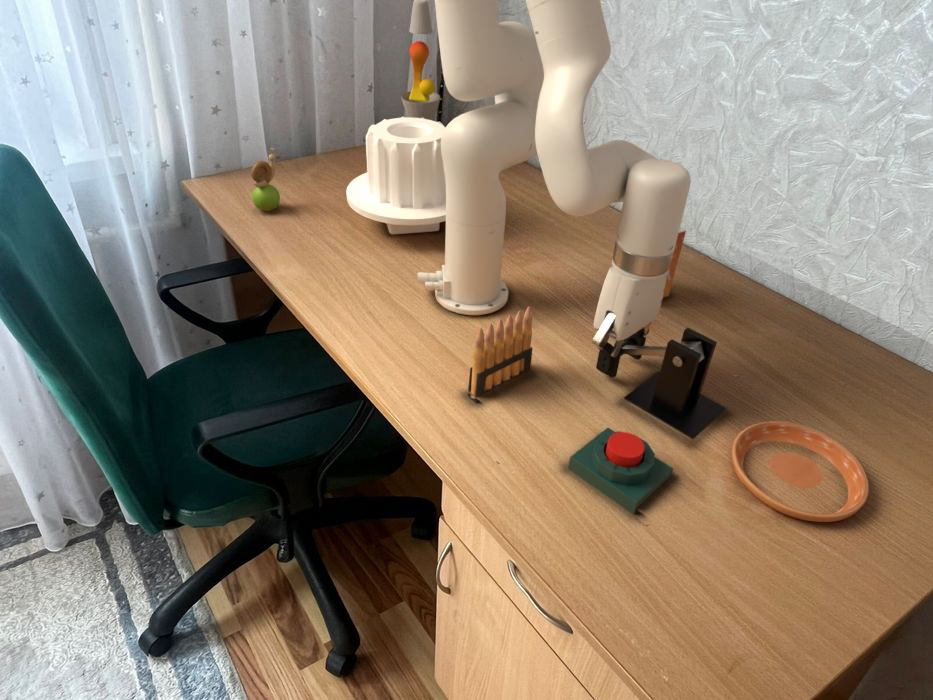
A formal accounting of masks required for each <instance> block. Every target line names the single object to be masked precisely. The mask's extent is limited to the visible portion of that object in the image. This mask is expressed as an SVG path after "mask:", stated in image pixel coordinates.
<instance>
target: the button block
mask: <svg viewBox="0 0 933 700" xmlns="http://www.w3.org/2000/svg"><path fill="white" fill-rule="evenodd" d="M618 432H621V431H619V430H618V431H617V430H615V431H614V430H613V429H611V428H610V427H606V428H605V429H604V430H603V431H601V432H600V433H599V434H597V435H596V436H595V437H594V438H592V439H591V440H589V442H587V443H586V444H585V445H584V446H582V447H581V448H579V450H577V451H576V452H575V453H573V454H572V455H570V457H569V462H568V466H567V469H568V470H569V471H571V472H572V474H575V475H576V476H577V477H579V478H580V479H582V480H583V481H585V482H586V483H587V484H589V485H590V486H592V487H593V488H594V489H596V490H597V491H599V492H601V493H602V494H603V495H605V496H606V497H608V498H609V499H610V500H612V501H613V502H615V503H616V504H618V506H620V507H622V508H624V509H625V510H626V511H628V512H629V513H631V514H632V515H635V514H636V513H637V512H639V510H638V509H637V508H638V507H639V506H641V505H642V503H644V502H645V501H646V500H647V499H649V498H650V496H651V495H653V494H654V493H655V491H656V490H657V489H659V488H660V487H661V486H662V485H663V484H664V483H665V482H666V481H668V479H669V478H670V477H672V475H673V472H674V468H673V467H672V466H670V465H669V464H668V463H666V462H664V461H662V460H660V459H659V458H657V457H655V456H656V453H655V452H654V451H653V448H651V447H652V446H650V444H649V443H648V441H646V440H644V439H642V438H641V437H639V436H637V435H636V434H633V433H632V434H633V435H635V436H637V437H638V438H639V439H641V441H642V442H643V444H644V453H643V456H642V460H641V462H640V463H639V464H638V465H637V466H635V467H631V468H626V467H621V466H617V465H615V464H614V463H612V462H611V461H610V460H609V459H608V458H607V456H606V448H607V443H608V439H609V437H610V436H611V435H613V434H615V433H618Z"/></svg>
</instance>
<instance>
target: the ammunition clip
mask: <svg viewBox="0 0 933 700" xmlns="http://www.w3.org/2000/svg"><path fill="white" fill-rule="evenodd" d="M532 323H533V312H532V307H531V306H529V305H528V306H527V308H526V310H525V313H524V316H523V314H522V311H521V310H518V312H517V313H516V315H515V319H514V320H513V316H512V315H511V314H509V315H508V317H507V318H506V321H505V324H504V322H503V319H501V318H500V319H498V321H497V324H496V327H495V328H494V325H493V323H489V325H488V327H487V328H486V331H485V332H486V334H485V333H484V330H483V328H482V327H480V328H479V330H478V331H477V333H476V337H475V345H474V350H473V354H472V355H473V356H472V366H471V367H470V368H469V377H468V388H467V397H468V398H469V399H471V400H472V401H473V402H474V403H479V402H480V400H479V399H478V397H481V396H482V395H484V394H486V393H488V392H491V391H492V390H494V389H496V388H497V387H500V386H501V385H503V384H505V383H508V382H509V381H512V380H514V379H516V378H517V377H519V376H521V375H523V374H525V373H526V372H528V371H530V370H531V368H532V360H533V359H532V358H533V347H532V346H531V345H532V336H533V330H532V329H533V328H532V327H533V324H532ZM504 325H505V326H504ZM473 395H474V396H473Z"/></svg>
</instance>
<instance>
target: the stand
mask: <svg viewBox="0 0 933 700" xmlns="http://www.w3.org/2000/svg"><path fill="white" fill-rule="evenodd" d="M682 341H695V342H701V343H702V348H703V353H704V359H703V360H702V361H700V357H701V354H700V353H698V352H696V351H694V350H692V349H690V348H688V347H686V346H684V345H682V344H681V342H682ZM717 344H718V342H717V340H715V339H712V338H710V337H708V336H706V335H705V334H702V333H700V332H698V331H696V330H695V329H692V328H690V327H687V328H685V329H684V330H683V333H682V337H681V339H680V342H678V341H677V340H674V339H673V338H671V339H670V340H669V341H667V344H666V347H667V348H666V351H665V355H664V356H663V358H662V363H661V365H660V366H661V367H660V370H658V371H657V372H656V373H654V374H653V375H651V376H650V377H649V378H648V379H646V380H645V381H643V383H641V384H640V385H638V386H637V387H636V388H634V389H633V390H632V391H630V392H629V393H628V394H627V395H625V396H624V397H623V399H624V400H625V401H627V402H629V403H631V404H632V405H634V406H635V407H637V408H639V409H641V410H642V411H644V412H646V413H648V414H649V415H651V416H652V417H654V418H656V419H657V420H659V421H661V422H663V423H664V424H666V425H668V426H669V427H671V428H672V429H675V430H676V431H678V432H679V433H681V434H683V435H685V436H686V437H688V438H689V439H692V440H693V439H694V438H695V437H697V435H698V434H699V433H701V432H702V431H703V430H704V429H706V427H708V426H709V424H711V423H712V422H713V421H714V420H715V419H716V418H717V417H718V416H719V415H720V414H722V413H723V412H724V411H725V410H726V409H727V408H726V406H725V405H722V404H720V403H718V402H716V401H714V400H712V399H711V398H709V397H707V396H705V395H703V394H702V389H703V387H704V385H705V380H706V378H707V375H708V371H709V369H710V365H711V362H712V359H713V356H714V353H715V349H716V347H717ZM699 361H700V362H699Z"/></svg>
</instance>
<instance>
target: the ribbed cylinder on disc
mask: <svg viewBox="0 0 933 700" xmlns="http://www.w3.org/2000/svg"><path fill="white" fill-rule="evenodd" d="M445 128H446V126H445V125H444V124H443V122H441V121H435V120H433V121H432V120H428V119H424V118H423V117H422V118H408V117H405V116H401V117H395V118H389V119H386V118H384V119H383V120H381V121H379V122H377V123H376V124H371V125H370V126H369V127H368V129H367V133H366V135H365V150H366V151H365V153H366V155H365V156H366V172H364V173H362V174H360V175H358V176H356V177H355V178H354V179H352V180H351V181H350V182H349V184H348V185H347V187H346V201H347V204H348V206H349V207H350V208H351V210H353V211H355V213H357V214H359V215H360V216H362V217H364V218H367V219H370V220H372V221H375V222H379V223H384V224H386V227H387V231H388V232H389V234H391V235H405V234H418V233H431V232H438V231H440V223H442V222H446V180H445V171H444V165H443V160H442V154H441V137H442V134H443V131H444V129H445Z"/></svg>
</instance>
